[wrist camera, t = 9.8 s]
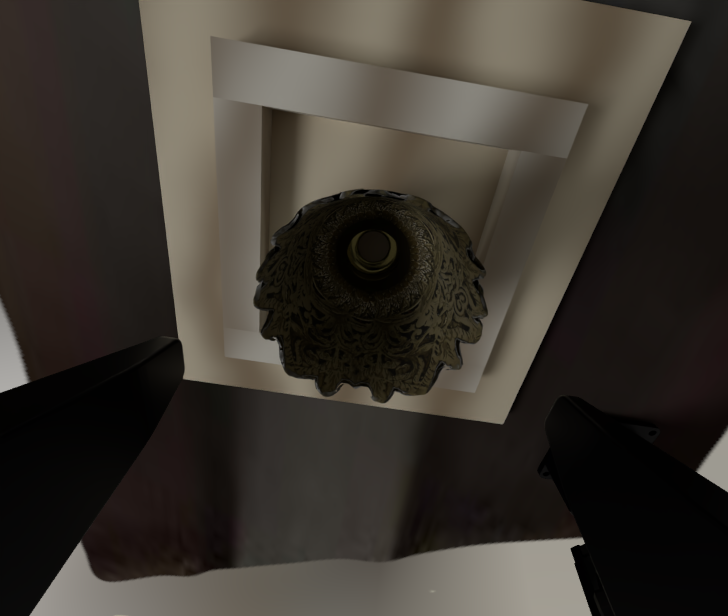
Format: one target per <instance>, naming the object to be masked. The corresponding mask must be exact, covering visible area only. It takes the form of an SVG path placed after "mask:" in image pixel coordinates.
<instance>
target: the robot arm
mask: <svg viewBox="0 0 728 616" xmlns="http://www.w3.org/2000/svg"><path fill="white" fill-rule="evenodd" d="M184 372H185V363H184V355H183V346H182V342H181V341H180V340H179V339H177V338H171V337H164V336H162V337H157V338H155V339H152V340H149V341H146V342H143V343H140V344H138V345H135V346H132V347H129V348H126V349H123V350H121V351H118V352H115V353H112V354H109V355H106V356H104V357H101V358H98V359H95V360H92V361H89V362H87V363H84V364H81V365H78V366H75V367H72V368H70V369H67V370H64V371H61V372H58V373H55V374H53V375H50V376H47V377H44V378H41V379H38V380H36V381H33V382H30V383H27V384H24V385H21V386H19V387H16V388H13V389H10V390H7V391H4V392H2V393H0V616H29V615H30V614H31V613H32V611H33V609H34V608H35V606H36V605H37V604H38V602H39V601H40V599H41V598H42V596H43V595H44V593H45V592H46V590H47V589H48V588H49V586H50V585H51V583H52V582H53V580H54V579H55V577H56V576H57V574H58V573H59V571H60V570H61V568H62V567H63V565H64V564H65V562H66V561H67V560H68V558H69V557H70V555H71V554H72V552H73V550H74V549H75V548H76V546H77V545H78V543H79V542H80V540H81V539H82V538H83V536H84V535H85V533H86V532H87V530H88V529H89V527H90V526H91V524H92V523H93V521H94V520H95V518H96V517H97V515H98V514H99V513H100V511H101V510H102V508H103V507H104V505H105V504H106V502H107V501H108V499H109V498H110V496H111V495H112V493H113V492H114V490H115V489H116V488H117V486H118V485H119V483H120V482H121V480H122V479H123V477H124V476H125V474H126V473H127V471H128V470H129V468H130V467H131V466H132V464H133V463H134V461H135V460H136V458H137V457H138V455H139V454H140V452H141V451H142V449H143V448H144V446H145V445H146V443H147V442H148V440H149V439H150V437H151V435H152V434H153V432H154V430H155V429H156V427H157V425H158V423H159V421H160V419H161V417H162V416H163V414H164V412H165V410H166V408H167V406H168V404H169V403H170V401H171V399H172V397H173V395H174V393H175V391H176V390H177V388H178V386H179V384H180V382H181V380H182V378H183V376H184ZM545 431H546V435H547V438H548V441H549V444H550V449H549V450H548V452H547V454H546V455H545V457H544V459H543V461H542V462H541V464H540V466H539V468H538V470H537V471H538V473H539V475H540V477H541V478H545V479H552V480H553V481H554V483H555V484H556V486H557V488H558V490H559V492H560V494H561V496H562V498H563V500H564V502H565V503H566V505H567V507H568V509H569V511H570V512H571V514H572V515H574V518H575V520H576V523H577V525H578V527H579V530H580V532H581V535H582V537H583V540H584V542H585V544H584V545H581V546H580V545H577V546H574V547H572V548H571V552H572V555H573V557H574V560H575V567H576V570H577V573H578V576H579V579H580V582H581V585H582V587H583V591H584V594H585V596H586V600H587V602H588V605H589V608H590V611H591V614H592V616H728V492H727V491H725V490H723V489H722V488H720V487H719V486H717V485H716V484H714V483H712V482H711V481H709V480H707V479H706V478H705V477H703V476H701V475H700V474H698V473H697V472H695V471H694V470H692V469H691V468H689V467H687V466H686V465H684V464H683V463H681V462H680V461H678V460H677V459H675V458H673V457H672V456H670V455H669V454H667V453H666V452H664V451H662V450H661V449H659V448H658V447H656V446H655V445H653V444H652V443H653V442H654V440H655V439H656V438H657V437H658V435H659V434H660V430H659V429H658V428H657V427H656V426H655V425H654V424H650V423H643V422H637V421H630V420H623V419H616V418H611V417H609V416H608V415H606V414H605V413H603V412H601V411H600V410H598V409H597V408H595V407H594V406H592V405H591V404H589V403H587V402H586V401H584V400H583V399H581V398H579V397H574V396H567V395H561V396H559V397H558V398H557V399H556V401H555V403H554V405H553V406H552V408H551V410H550V412H549V414H548V416H547V417H546V420H545Z"/></svg>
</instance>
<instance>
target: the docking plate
mask: <svg viewBox="0 0 728 616" xmlns="http://www.w3.org/2000/svg"><path fill="white" fill-rule="evenodd" d="M139 6H140V14H141V23H142V31H143V40H144V48H145V57H146V65H147V74H148V82H149V91H150V99H151V108H152V116H153V125H154V133H155V142H156V150H157V159H158V167H159V176H160V184H161V193H162V201H163V210H164V218H165V227H166V235H167V244H168V252H169V261H170V269H171V278H172V286H173V295H174V303H175V312H176V320H177V329H178V337H179V340H180V341H181V342H182V346H183V355H184V363H185V372H184V376H183V379H188V380H195V381H202V382H209V383H216V384H223V385H230V386H237V387H244V388H251V389H258V390H265V391H272V392H279V393H286V394H293V395H300V396H308V397H315V398H322V399H329V400H336V401H343V402H350V403H357V404H364V405H371V406H378V407H385V408H392V409H399V410H406V411H413V412H420V413H427V414H434V415H441V416H449V417H456V418H463V419H470V420H477V421H484V422H491V423H498V424H503V423H504V421H505V419H506V417H507V415H508V413H509V410H510V408H511V406H512V404H513V402H514V400H515V398H516V396H517V393H518V391H519V389H520V387H521V385H522V383H523V381H524V378H525V376H526V374H527V372H528V370H529V368H530V366H531V363H532V361H533V359H534V357H535V355H536V353H537V351H538V349H539V346H540V344H541V342H542V340H543V338H544V336H545V334H546V331H547V329H548V327H549V325H550V323H551V321H552V319H553V316H554V314H555V312H556V310H557V308H558V306H559V304H560V302H561V299H562V297H563V295H564V293H565V291H566V289H567V287H568V284H569V282H570V280H571V278H572V276H573V274H574V272H575V269H576V267H577V265H578V263H579V261H580V259H581V257H582V254H583V252H584V250H585V248H586V246H587V244H588V242H589V240H590V237H591V235H592V233H593V231H594V229H595V227H596V225H597V222H598V220H599V218H600V216H601V214H602V212H603V210H604V207H605V205H606V203H607V201H608V199H609V197H610V195H611V193H612V190H613V188H614V186H615V184H616V182H617V180H618V178H619V175H620V173H621V171H622V169H623V167H624V165H625V163H626V160H627V158H628V156H629V154H630V152H631V150H632V148H633V146H634V143H635V141H636V139H637V137H638V135H639V133H640V131H641V128H642V126H643V124H644V122H645V120H646V118H647V116H648V113H649V111H650V109H651V107H652V105H653V103H654V101H655V99H656V96H657V94H658V92H659V90H660V88H661V86H662V84H663V81H664V79H665V77H666V75H667V73H668V71H669V69H670V66H671V64H672V62H673V60H674V58H675V56H676V54H677V51H678V49H679V47H680V45H681V43H682V41H683V39H684V37H685V34H686V32H687V30H688V28H689V26H690V24H691V22H692V21H687V20H681V19H676V18H671V17H666V16H661V15H656V14H650V13H645V12H640V11H635V10H630V9H624V8H619V7H614V6H609V5H604V4H598V3H593V2H588V1H583V0H139ZM354 189H365V190H366V189H376V190H377V189H380V190H386V191H393V192H398V193H403V194H410V195H414V196H417V197H420V198H423V199H425V200H427V201H428V202H430V203H431V204H432V205H433V206H434V207H436V208H438V209H439V210H441V211H443V212H444V213H445V214H447V215H448V216H449V217H451V218H452V219H453V220H455V221H456V222H457V223H458V224H459V225H460V226H461V227H462V228H463V229H464V230H465V231H466V233H467V234H468V236H469V237H470V239H471V241H472V244H473V245H472V249H473V252H474V255H475V256H476V257H477V259H478V260H479V261H480V262H481V263H482V265H483V266H484V268H485V270H486V276H485V277H484V279H479V280H478V281H479V283H480V284H481V286H482V287H483V289H484V299H485V302H486V305H487V309H488V316H487V317H484V318H483V319H480V320H481V322H482V324H483V330H482V336H481V338H480V340H479V341H478V342H477V343H476V344H474V345H473V344H464V343H460V350H461V354H462V359H463V365H462V367H461V369H460V370H446V369H450V368H449V367H447V366H446V365H444V366H446V367H445V368H443V369H442V371H441V372H440V374H439V377H438V379H437V381H436V382H435V384H434V385H433V387H432V388H431V390H430V391H429V392H428V393H427V394H425V395H417V396H405V395H402V394H400V393H398V392H394V394H393V396H392V397H391V399H390V400H389V401H388V402H386V403H379V402H376V401H373V400H372V398H371V397H370V396H372V394H371V391H370V390H369V388H368V387H362V386H360V388H357V389H354V388H353V387H351V386H350V385H349V384H345V383H341V384H344V385H343V386H342V387H341V388H340V390H339V391H338V392H337V393H336V394H334V395H333V396H330V397H324V396H322V395H321V394H320V393H319V392H318V391H317V389H316V387H315V380H310V379H298V378H294V377H292V376H289V375H287V374H286V373H285V371H284V369H283V366H282V364H281V361H280V357H279V344H278V343H277V339H276V338H274V339H276V340H275V341H271V340H265V339H264V338H263V337H262V336H261V334H260V333H261V329H262V327H263V325H264V323H265V321H266V319H267V315H268V313H269V312H268V310H267V311H261V310H259V309H257V308H255V307H254V304H253V299H254V296H255V292H256V288H257V286H258V285H259V284H260V283H261V282H260V283H258V281H256V273H257V271H258V269H259V267H260V266H261V264H262V263H263V261H264V259H265V257H266V254H267V253H268V252H269V251H270V250H271V249H273V248H274V247H275V245H272V244H271V243H270V242H271V238H272V236H273V234H274V233H275V232H276V231H278V230H279V229H280V228H281V227H283V226H285V225H287V224H288V223H289V222H290V221H291V220H292V219H293V218H294V217H295V215H296V214H297V212H298V211H299V210H300V209H301V208H302V207H303V206H305V205H307V204H309V203H310V202H313V201H315V200H317V199H320V198H324V197H328V196H332V195H335V194H338V193H340V192H344V191H348V190H354ZM358 250H359V253H360V255H361V256H362V257H363V258H364V259H365V260H367V261H371V262H376V261H380V260H382V259H383V258H384V257H385V256H386V255H387V253H388V250H389V243H388V240H387V238H386V237H385V236H384V235H383V234H381V233H379V232H368V233H366V234H364V235H363V236H362V237H361V239H360V240H359V244H358ZM460 342H462V341H460ZM341 384H340V385H341ZM340 385H339V386H340ZM339 386H338V387H339ZM338 387H337V388H338ZM336 391H337V390H336Z"/></svg>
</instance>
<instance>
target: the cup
mask: <svg viewBox="0 0 728 616" xmlns="http://www.w3.org/2000/svg"><path fill="white" fill-rule="evenodd" d="M368 232H379V233H381V234H383V235H384V236H385V237H386V238H387V240H388V243H389V250H388V253H387V255H386V256H385V257H384V258H383V259H382V260H380V261H376V262H371V261H367V260H365V259H364V258H363V257H362V256H361V255H360V253H359V250H358V244H359V240H360V239H361V237H362V236H363V235H364V234H366V233H368ZM270 243H271V244H272V245H275V247H274V248H273V249H271V250H270V251H269V252H268V253H267V254H266V257H265V259H264V261H263V263H262V264H261V266H260V267H259V269H258V271H257V273H256V281H258V283H260V282H261V283H260V284H259V285H258V286H257V288H256V292H255V296H254V299H253V304H254V307H255V308H257V309H259V310H261V311H267V310H268V312H269V313H268V315H267V319H266V321H265V323H264V325H263V327H262V329H261V333H260V334H261V336H262V337H263V338H264V339H265V340H271V341H275V340H276V339H277V343H278V344H279V357H280V361H281V364H282V366H283V369H284V371H285V373H286V374H287V375H289V376H292V377H294V378H298V379H310V380H315V387H316V389H317V391H318V392H319V393H320V394H321V395H322V396H324V397H330V396H333V395H334V394H336V393H337V392H338V391H339V390H340V388H341V387H342V386H343V385H344V384H341V383H345V384H349V385H350V386H351V387H353V388H354V389H357V388H360V386H362V387H368V388H369V390H370V391H371V394H372V396H370V397H371V398H372V400H373V401H376V402H379V403H386V402H388V401H389V400H390V399H391V397H392V396H393V394H394V392H398V393H400V394H402V395H405V396H417V395H425V394H427V393H428V392H429V391H430V390H431V388H432V387H433V385H434V384H435V382H436V381H437V379H438V377H439V374H440V372H441V371H442V369H443V368H445V367H446V366H447V367H449V368H450V369H446V370H460V369H461V367H462V365H463V359H462V354H461V350H460V343H464V344H473V345H474V344H476V343H477V342H478V341H479V340H480V338H481V336H482V330H483V324H482V322H481V320H480V319H483V318H484V317H487V316H488V309H487V305H486V302H485V299H484V289H483V287H482V286H481V284H480V283H479V281H478V280H479V279H484V277H485V276H486V270H485V268H484V266H483V265H482V263H481V262H480V261H479V260H478V259H477V257H476V256H475V255H474V252H473V249H472V245H473V244H472V241H471V239H470V237H469V236H468V234H467V233H466V231H465V230H464V229H463V228H462V227H461V226H460V225H459V224H458V223H457V222H456V221H455V220H453V219H452V218H451V217H449V216H448V215H447V214H445V213H444V212H443V211H441V210H439V209H438V208H436V207H434V206H433V205H432V204H431V203H430V202H428V201H427V200H425V199H423V198H420V197H417V196H414V195H410V194H403V193H398V192H393V191H386V190H380V189H377V190H376V189H366V190H365V189H354V190H348V191H344V192H340V193H338V194H335V195H332V196H328V197H324V198H320V199H317V200H315V201H313V202H310V203H309V204H307V205H305V206H303V207H302V208H301V209H300V210H299V211H298V212H297V214H296V215H295V217H294V218H293V219H292V220H291V221H290V222H289V223H288V224H287V225H285V226H283V227H281V228H280V229H279V230H278V231H276V232H275V233H274V234H273V236H272V238H271V242H270ZM274 338H276V339H274ZM460 341H462V342H460ZM444 365H446V366H444ZM340 384H341V385H340ZM339 385H340V386H339ZM338 386H339V387H338ZM337 387H338V388H337ZM336 390H337V391H336Z"/></svg>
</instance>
